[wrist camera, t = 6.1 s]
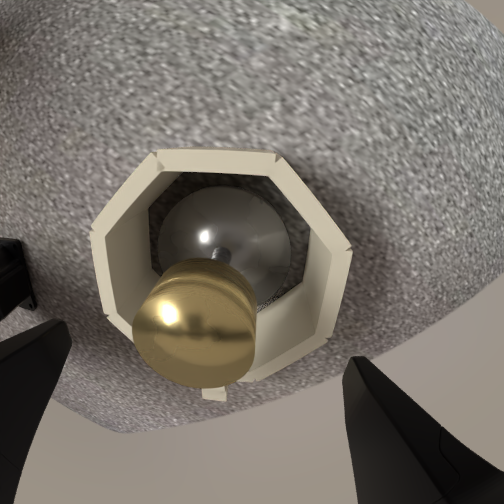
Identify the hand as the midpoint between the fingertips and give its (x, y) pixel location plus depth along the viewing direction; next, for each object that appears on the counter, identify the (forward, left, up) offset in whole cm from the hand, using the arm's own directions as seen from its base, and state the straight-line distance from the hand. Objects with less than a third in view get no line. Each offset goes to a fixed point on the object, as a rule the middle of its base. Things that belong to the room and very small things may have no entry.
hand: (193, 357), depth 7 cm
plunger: (0, 0, -8) cm, 8 cm away
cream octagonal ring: (0, -1, -9) cm, 9 cm away
